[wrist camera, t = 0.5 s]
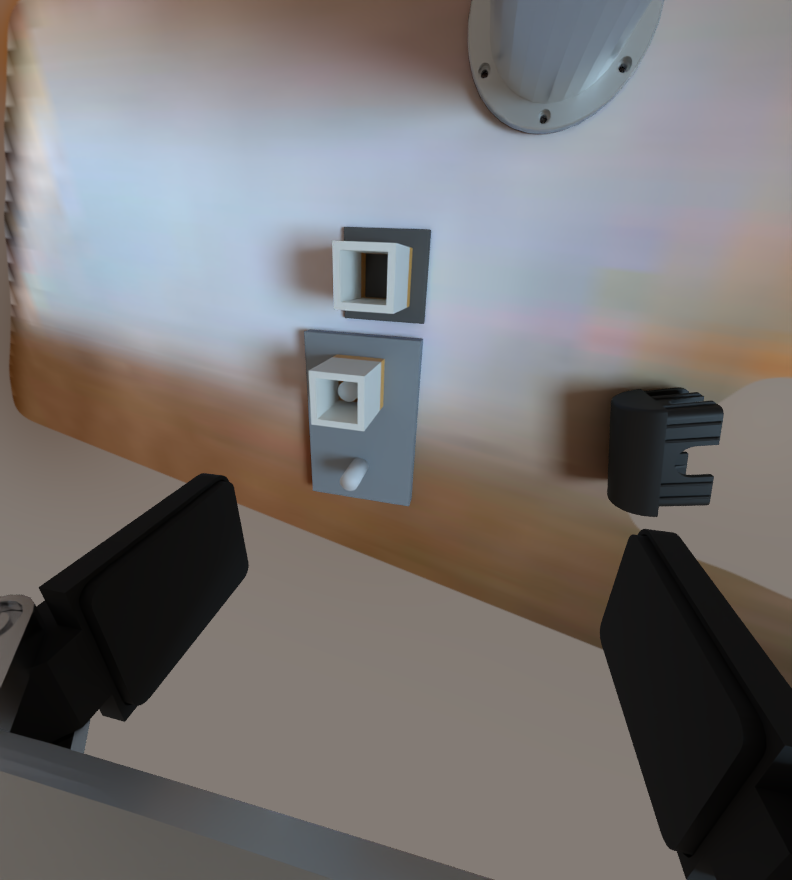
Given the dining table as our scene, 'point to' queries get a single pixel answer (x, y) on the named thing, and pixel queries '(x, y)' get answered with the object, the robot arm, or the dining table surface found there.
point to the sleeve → (353, 276)
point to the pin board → (388, 435)
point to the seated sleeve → (329, 403)
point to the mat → (379, 266)
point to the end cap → (659, 449)
